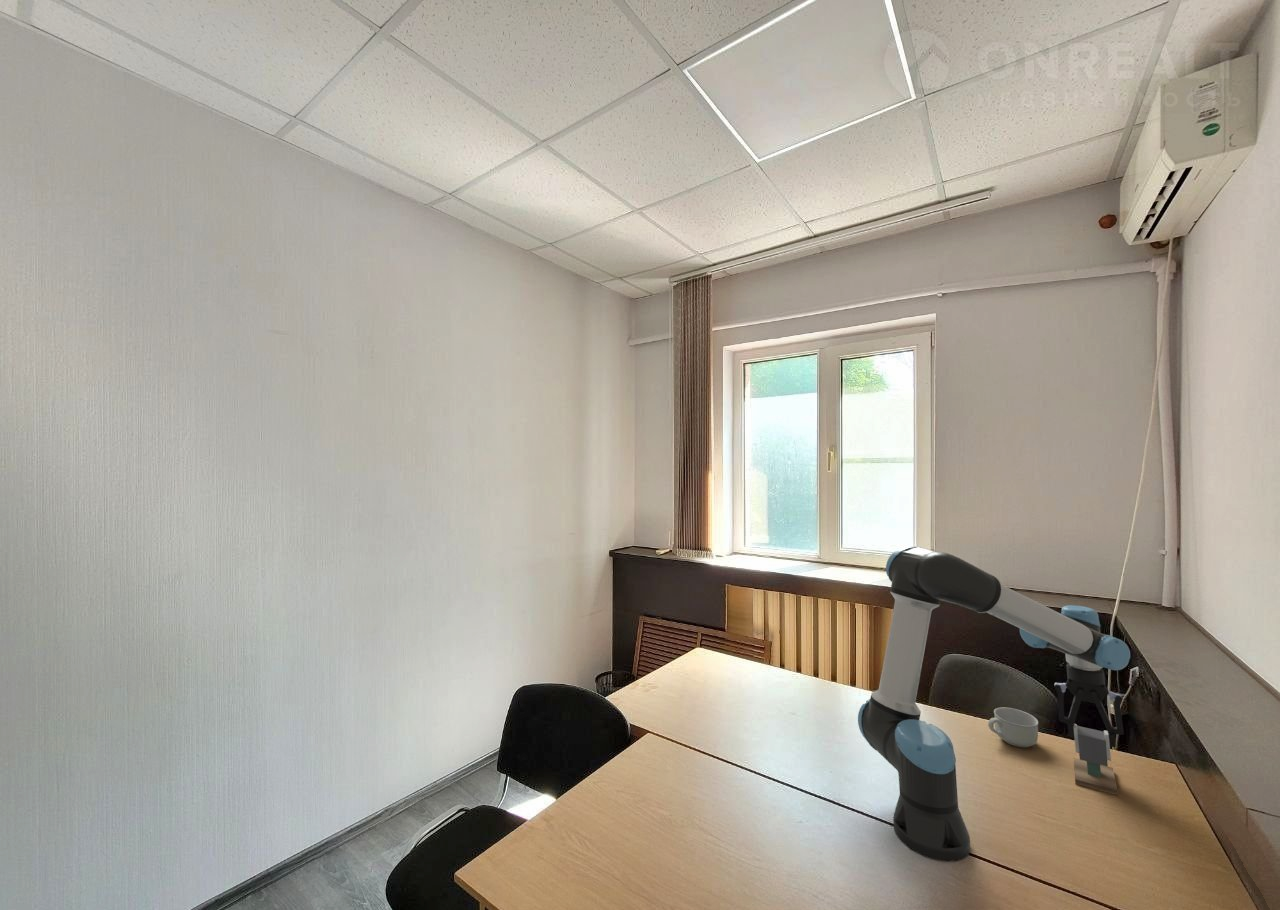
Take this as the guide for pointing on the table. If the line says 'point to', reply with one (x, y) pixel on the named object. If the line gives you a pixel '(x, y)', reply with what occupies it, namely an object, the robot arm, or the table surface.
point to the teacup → (1015, 726)
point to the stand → (1095, 776)
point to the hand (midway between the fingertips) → (1092, 754)
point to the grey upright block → (1092, 746)
